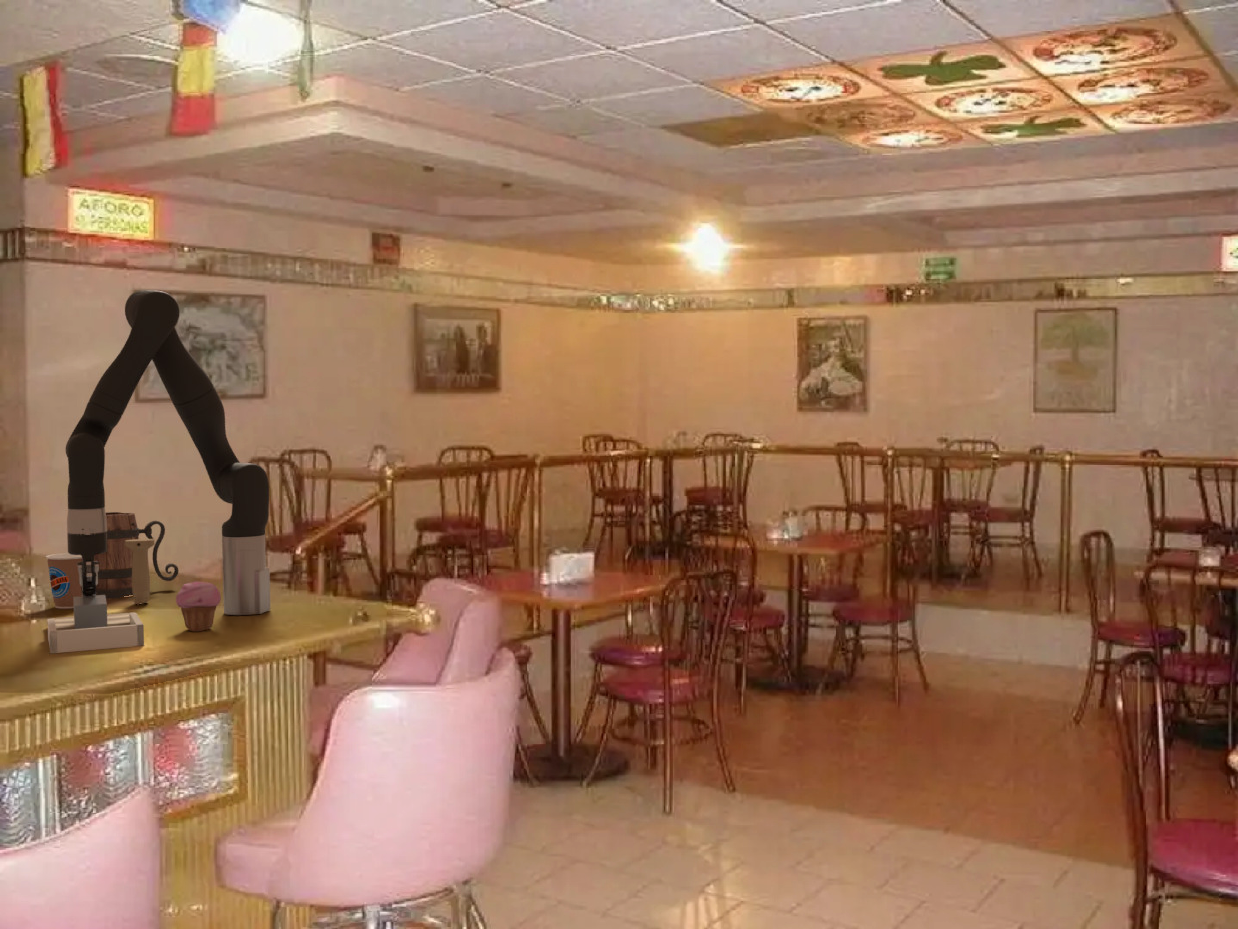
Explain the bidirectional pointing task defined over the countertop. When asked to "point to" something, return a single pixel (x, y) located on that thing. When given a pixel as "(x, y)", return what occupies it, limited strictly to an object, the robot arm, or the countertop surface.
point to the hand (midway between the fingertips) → (89, 614)
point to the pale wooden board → (112, 620)
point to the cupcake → (198, 604)
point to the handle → (140, 568)
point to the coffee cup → (64, 579)
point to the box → (96, 637)
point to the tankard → (124, 555)
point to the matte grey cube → (90, 611)
